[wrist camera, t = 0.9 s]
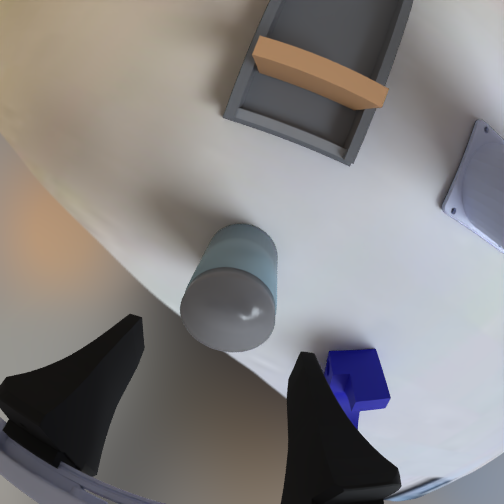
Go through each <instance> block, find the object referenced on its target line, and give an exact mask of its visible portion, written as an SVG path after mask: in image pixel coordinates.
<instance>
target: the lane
mask: <svg viewBox="0 0 504 504" xmlns="http://www.w3.org/2000/svg"><path fill="white" fill-rule="evenodd" d="M412 4H413V0H270V1H269V4H268V6H267V8H266V10H265V12H264V15H263V17H262V19H261V21H260V24H259V26H258V28H257V30H256V33H255V35H254V37H253V40H252V42H251V45H250V47H249V49H248V52H247V54H246V57H245V59H244V62H243V64H242V67H241V69H240V72H239V75H238V77H237V80H236V82H235V85H234V88H233V90H232V93H231V96H230V98H229V101H228V104H227V107H226V110H225V112H224V115H223V118H225V119H228V120H231V121H234V122H237V123H241V124H244V125H247V126H250V127H253V128H256V129H258V130H261V131H264V132H267V133H270V134H273V135H275V136H278V137H281V138H283V139H286V140H289V141H291V142H294V143H296V144H299V145H301V146H304V147H306V148H309V149H311V150H314V151H316V152H318V153H321V154H323V155H325V156H328V157H330V158H332V159H334V160H337V161H339V162H341V163H343V164H346V165H348V166H350V165H351V163H353V164H354V161H355V159H356V157H357V154H358V152H359V149H360V147H361V145H362V142H363V140H364V137H365V135H366V133H367V130H368V128H369V125H370V123H371V120H372V118H373V115H374V113H375V110H376V108H371V109H361V110H352V109H350V108H348V107H346V106H344V105H341V104H339V103H337V102H335V101H332V100H330V99H328V98H326V97H323V96H321V95H318V94H316V93H314V92H311V91H309V90H306V89H304V88H301V87H298V86H296V85H293V84H290V83H287V82H285V81H282V80H279V79H276V78H273V77H270V76H267V75H264V74H261V73H259V71H258V68H257V66H256V63H255V61H254V58H253V56H252V53H253V51H254V48H255V46H256V44H257V41H258V39H259V36H263V37H267V38H270V39H273V40H277V41H280V42H283V43H286V44H289V45H292V46H295V47H298V48H300V49H303V50H306V51H309V52H311V53H314V54H316V55H319V56H321V57H324V58H326V59H329V60H331V61H333V62H336V63H338V64H340V65H342V66H345V67H347V68H349V69H351V70H353V71H355V72H357V73H359V74H362V75H364V76H366V77H368V78H369V79H371V80H373V81H375V82H377V83H379V84H381V85H383V86H385V84H386V81H387V79H388V76H389V73H390V70H391V68H392V65H393V62H394V59H395V56H396V53H397V50H398V48H399V45H400V42H401V39H402V36H403V33H404V29H405V26H406V23H407V20H408V17H409V14H410V10H411V7H412Z"/></svg>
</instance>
